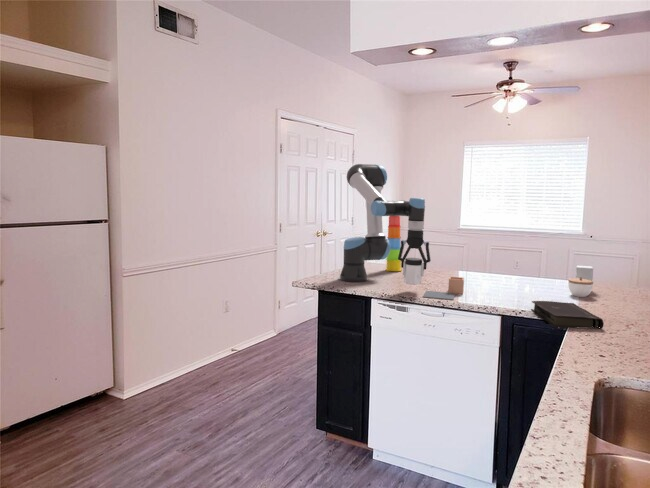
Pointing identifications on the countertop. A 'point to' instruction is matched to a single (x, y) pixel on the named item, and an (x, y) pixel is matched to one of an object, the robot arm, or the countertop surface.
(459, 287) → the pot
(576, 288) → the lidded jar
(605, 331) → the countertop surface
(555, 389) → the countertop surface
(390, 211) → the robot arm
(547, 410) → the countertop surface
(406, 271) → the jar
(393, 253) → the stacking cups
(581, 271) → the supplement box
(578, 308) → the diary
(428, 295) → the mat
